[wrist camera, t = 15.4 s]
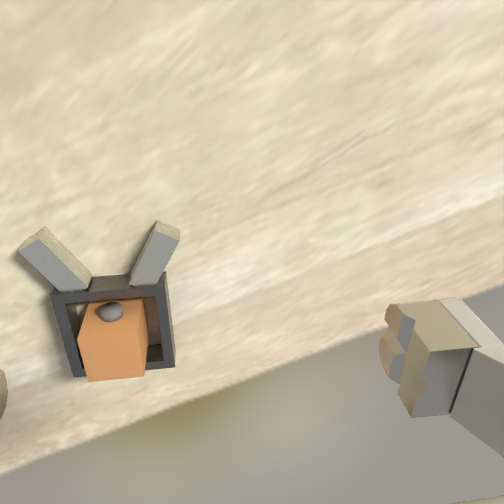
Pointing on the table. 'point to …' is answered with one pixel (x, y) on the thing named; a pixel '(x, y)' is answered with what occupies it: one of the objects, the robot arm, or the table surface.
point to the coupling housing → (106, 288)
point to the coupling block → (114, 339)
